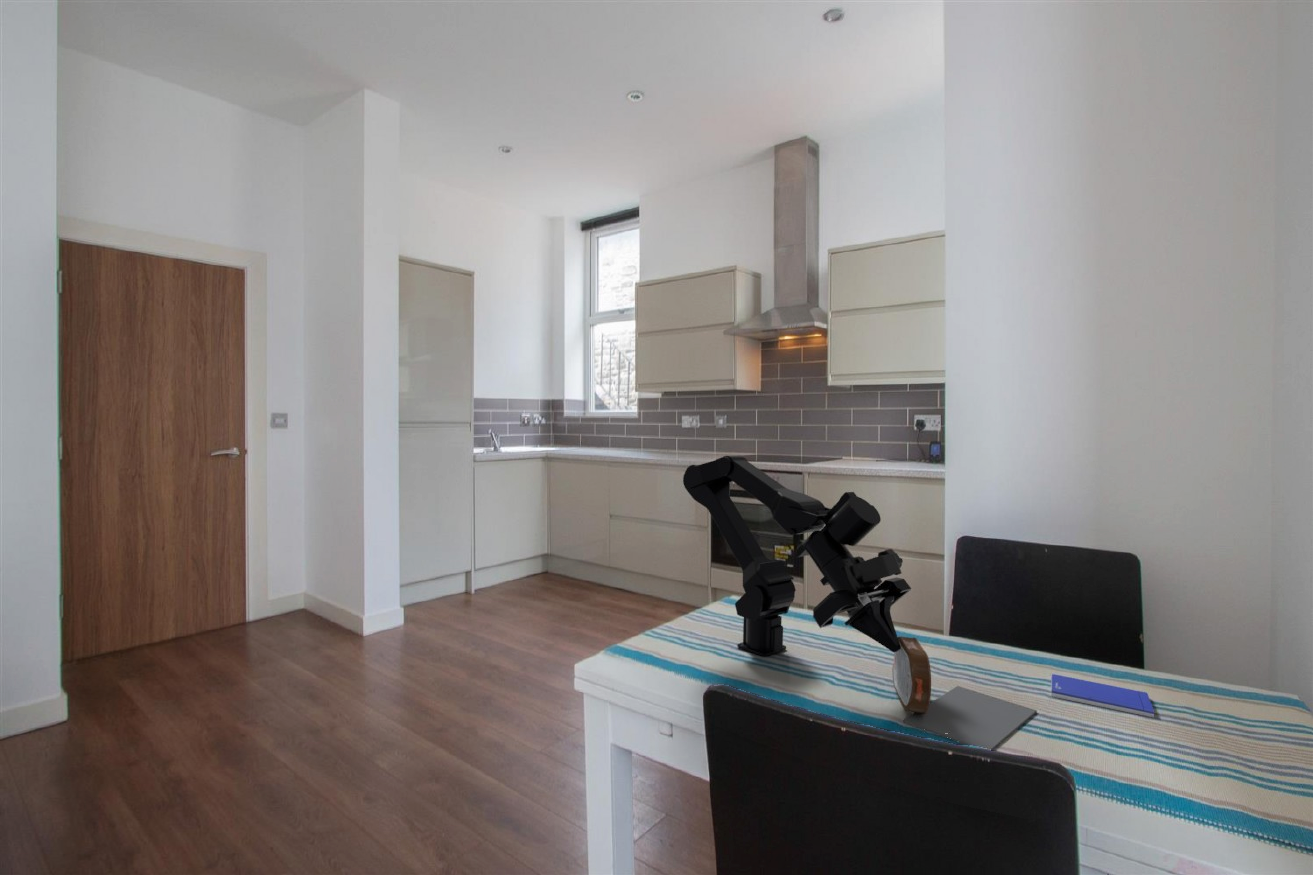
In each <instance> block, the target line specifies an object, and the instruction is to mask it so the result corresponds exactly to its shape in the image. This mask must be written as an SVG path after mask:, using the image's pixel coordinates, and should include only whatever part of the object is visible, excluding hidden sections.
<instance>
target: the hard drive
mask: <svg viewBox="0 0 1313 875" xmlns="http://www.w3.org/2000/svg"><path fill="white" fill-rule="evenodd" d="M1052 696H1054V697H1053V698H1058V699H1062V700H1068V701H1073V702H1076V703H1083V704H1087V705H1092V706H1097V707H1102V708H1106V709H1111V710H1116V711H1121V712H1125V713H1130V714H1135V715H1141V716H1143V717H1150V718H1155V710H1154V707H1153V704H1152V701H1151V699H1150V696H1149V694H1148V692H1146V691H1140V690H1135V689H1130V688H1125V687H1119V686H1116V685H1109V684H1105V683H1101V682H1100V683H1099V682H1097V681H1096V682H1094V681H1091V680H1084V679H1080V678H1079V679H1078V678H1074V677H1070V676H1066V675H1065V676H1064V675H1059V674H1055V673H1051V674H1050V697H1052Z"/></svg>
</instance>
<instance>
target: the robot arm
mask: <svg viewBox="0 0 1313 875" xmlns="http://www.w3.org/2000/svg"><path fill="white" fill-rule="evenodd" d="M682 480H683V481H682V483H683V486H684V489H685V490H686V492H687V493H688V494H689V495H690V496H691V498H692V499H693V500H694V501H695V502H696V503H698V504H699V505H701V506H703V507H704V508H706V510H708V513H709V514H710V515H711V517H712V519H713V521H714V523H715V524H716V526H717V528H718V529H719V530H718V531H719V532H720V533H721V535H722V537H723V538H724V541H725V542H726V544H727V546H728V547H729V549H730V551H731V553H732V554H733V556H734V558H735V559H736V561H737V563H738V565H739V566H740V568H741V570H742V589H743V590H744V594H743V595H742V596H741V597H740V598H738V600H737V601H736V602H735V603H734V606H735V609H736V614H737V616H739V617H742V618H743V627H742V628H743V629H742V631H743V632H742V642H739V643H737V644H736V645H737V648H739V649H742V650H744V651H748V652H751V653H752V654H756V655H759V656H762V657H767V656H770V655H774V654H776V653H778V652H782V651H784V650H786V649H787V645H785V644H784V626H783V625H782V622H783V621H782V620H783V619H782V618H783V616H781V615H786V614H788V613H789V610H790V606H791V604H792V603H793V602H794V600H795V597H796V596H795V595H796V591H797V590H796V586H795V582H793V580H795V579H794V577H793V575H791V574H790V572H788V569H787V567H786V565H785V563H784V562H783V561H782V560H770V559H769V558H768V557H767V556H766V555H765V553H764V551H763V550H762V547H760V544H759V543H758V541H757V540H756V539H755V536H754V534H753V533H752V532H751V530H750V528H749V526H748V525H747V523H746V522H745V520H744V518H743V516H742V515H741V513H740V512H739V510H738V509H737V507H736V505H735V503H734V501H733V500H732V498H731V497H730V496H731V495H730V492H731V484H730V483H735V484H736V485H737V486H739V487H740V488H741V489H742V490H744V491H745V492H747V493H748V494H750V495H751V496H752V497H754V498H755V499H756V500H757V501H759V503H761V504H763V505H764V506H766V507H767V508H768V509H769V511H770V513H771V515H772V518H773V520H774V521H775V522H776V523H777V524H778V526H780V528H782V529H783V531H784V532H786V533H787V534H789V535H794V536H795V535H801V534H809V536H807V538H806V539H800V540H799V539H798V540H797V547H796V549H795V556H796V557H797V558H800V557H801V558H802V557H807V556H809V557H810V558H811V560H812V562H813V563H814V564H815V566H816V568H818V570H819V572H820V573H821V575H822V576H823V577H822V578H820V580H819V581H820V583H821V584H822V586H825V587H826V586H830V588H831V590H833V592H832V591H831V592H830V593H829V594H828V595H826V596H825V597H824V598H823V599H822V600H821V601H820V602H819V603H818V604H817V605H816V606H815V607H814V608H813V609H812V611H813V612H812V614H813V615H812V618H813V620H814V621H815V622H816V625H817V626H818V627H819V629H822V628H825V627H828V626H832V624H833V623H834V617H835V616H836V615H837V614H841V613H845V612H846V613H847V614H846V615H847V616H848V617H849V618H848V619H847V620H846V621H845V622H844V625H845V626H846V627H851V628H853V629H855V630H856V631H858V632H860V633H862V634H863V635H866V636H867V637H869V638H870V639H872V640H874V641H875V642H876V643H878V644H879V645H882V646H883V647H885V648H886V649H887V650H889V651H891V652H893V653H895V652H897V651H899V650H900V649H901V646H900V643H899V640H898V637H899V636H898V634H897V631H896V627H895V625H894V621H893V618H892V616H891V608H892V606H893V605H895V604H896V603H897V602H898V601H899V600H901V599H902V598H903V597H904V596H906V595H907V594H908V593H909V592H910V591H911V590H912V587H911V586H910V584H909V583H908V582H907V581H906V580H905V579H904V578H901V577H893V578H888V577H891V576H893V575H895V576H898V575H901V574H903V573H902V570H901V568H902V566H903V562H904V561H903V558H902V557H900V556H899V555H898V552H895V551H894V550H893V548H889V549H885V550H882V551H879V552H878V554H877V556H875V557H872V558H869V559H866V560H865V559H864V557H862V556H859V555H858V556H853V554H852V552H851V551H850V550H849V549H848V547H847V546H850V547H855V546H857V545H859V543H860V542H861V541H862V540H863V539H865V537H867V535H868V534H869V533H871V532H872V531H873V530H874V529H875V528H876V527H877V526H878V525H879V524H880V523H881V514H880V513H879V511H878V509H877V508H876V507H875V505H873V504H870V502H868V501H867V500H865V499H863V498H862V497H859V496H858V495H857V494H856V493H855V492H854V491H845V492H844V493H843V494H842V495H841V496H840V498H839V499H838V501H837V502H836V503H835V504H834V505H833V506H832V507H831V508H829V507H827V506H825V505H824V503H823V502H821V500H819V499H817V498H815V497H812V496H809V495H807V494H805V493H802V492H798V491H794V490H792V489H789V488H787V487H785V486H783V485H782V484H781V483H779V482H778V481H777V480H775V479H773V477H771V476H769V475H768V474H766V473H765V472H764V471H762V470H761V469H759V468H758V467H756V466H755V465H754V464H752V463H750V462H749V461H748V460H747V458H746V457H744V456H742V455H740V454H739V455H724V456H721V457H719V458H718V459H715V460H713V461H708V462H705V463H701V464H690V465H689V466H688V467H687V468H686V469H685V471H684V474H683V477H682ZM846 545H847V546H846ZM884 578H888V579H885V580H882V579H884Z"/></svg>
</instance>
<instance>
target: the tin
mask: <svg viewBox="0 0 1313 875" xmlns="http://www.w3.org/2000/svg"><path fill="white" fill-rule="evenodd" d="M897 637H898V640H899V643H900V646H901V649H900V650H899V651H897V652H893V653H894V655H893V664H892V668H891V669H892V682H893V687H894V691H895V692H896V694H897V697H898V699H899V702H900V703H901V706H902V707H903V709H904V710H905V711H907V712H911V713H921V714H923V715H925V714H926V713H927V711H928V708H929V704H930V703H931V697H932V696H931V695H932V670H931V669H932V668H931V663H930V659H929V655H928V654H927V652H926V650H925V649H924V648H923V646H922V645H921V644H920V643H921V642H919V641H918V639H917V637H907V636H897Z"/></svg>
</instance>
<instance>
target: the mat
mask: <svg viewBox="0 0 1313 875" xmlns="http://www.w3.org/2000/svg"><path fill="white" fill-rule="evenodd" d="M1037 712H1038V711H1037V710H1036V709H1034V708H1030V707H1027V706H1025V705H1021V704H1018V703H1014V702H1010V701H1007V700H1005V699H1002V698H997V697H994V696H992V695H989V694H985V693H982V692H978V691H975V690H972V689H969V688H966V687H963V686H959V685H957V686H955V687H954V688H952V689H951V690H949V691H948V692H946V693H944V694H942V695H941V696H939V697H937V698H936V699H935V700H933V701H930V704H929V708H928V711H927V713H926V714H925V715H923V714H921V713H915V712H912V713H911V714H910V715H908V716H906V717H905V718H903V719H902V722H903V723H905V724H907V725H910V726H913V727H915V728H918V729H921V730H923V729H925V730H924V731H926V732H928V731H929V732H928V733H931V732H932V734H934V735H937V734H938V735H937V736H940V737H942V738H945V737H946V738H945V739H947V737H948V738H951V739H952V740H951V741H953V742H955V743H958V744H961V745H963V746H966V745H973V746H979V747H983V748H987V749H991V750H992V751H994V750H995V749H996V748H997V747H998V746H999V745H1000V744H1001V743H1003V742H1004V741H1005V740H1006V739H1008V737H1010V736H1011V735H1012V734H1013V733H1014V732H1016V731H1017V730H1018V729H1020V727H1021V726H1023V724H1025V723H1026V722H1027V721H1028V720H1029V719H1031V718H1032V717H1033V716H1034V715H1036V714H1037ZM1030 717H1031V718H1030ZM945 733H948V734H945ZM956 741H959V742H956Z"/></svg>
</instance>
